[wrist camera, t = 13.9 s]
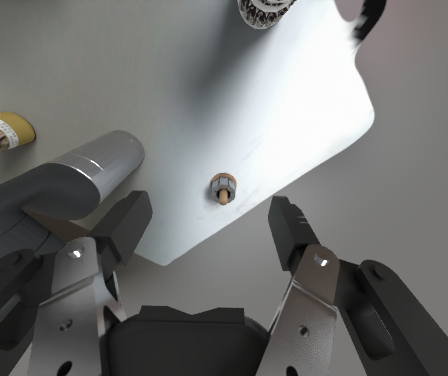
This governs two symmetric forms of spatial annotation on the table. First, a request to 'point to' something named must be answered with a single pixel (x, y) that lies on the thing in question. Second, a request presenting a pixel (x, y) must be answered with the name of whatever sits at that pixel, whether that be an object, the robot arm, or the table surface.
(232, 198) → the ring
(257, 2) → the decorative candle
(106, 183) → the robot arm
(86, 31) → the table surface
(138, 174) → the table surface
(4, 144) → the paper tube
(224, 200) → the wooden peg stand
